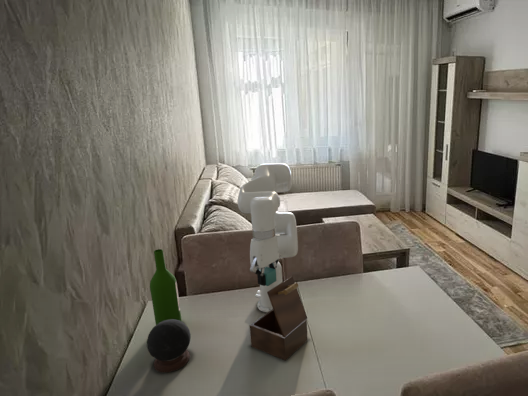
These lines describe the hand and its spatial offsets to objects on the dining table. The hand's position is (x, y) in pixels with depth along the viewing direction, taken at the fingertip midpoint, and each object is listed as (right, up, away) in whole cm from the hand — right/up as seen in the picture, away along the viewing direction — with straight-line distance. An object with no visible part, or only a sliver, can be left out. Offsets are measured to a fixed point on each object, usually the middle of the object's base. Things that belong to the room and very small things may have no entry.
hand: (267, 281), depth 134 cm
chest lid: (+7, -9, -1) cm, 11 cm away
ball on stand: (-31, -27, -4) cm, 42 cm away
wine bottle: (-42, -22, +14) cm, 49 cm away
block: (0, 0, 0) cm, 0 cm away
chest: (+3, -24, +6) cm, 25 cm away
